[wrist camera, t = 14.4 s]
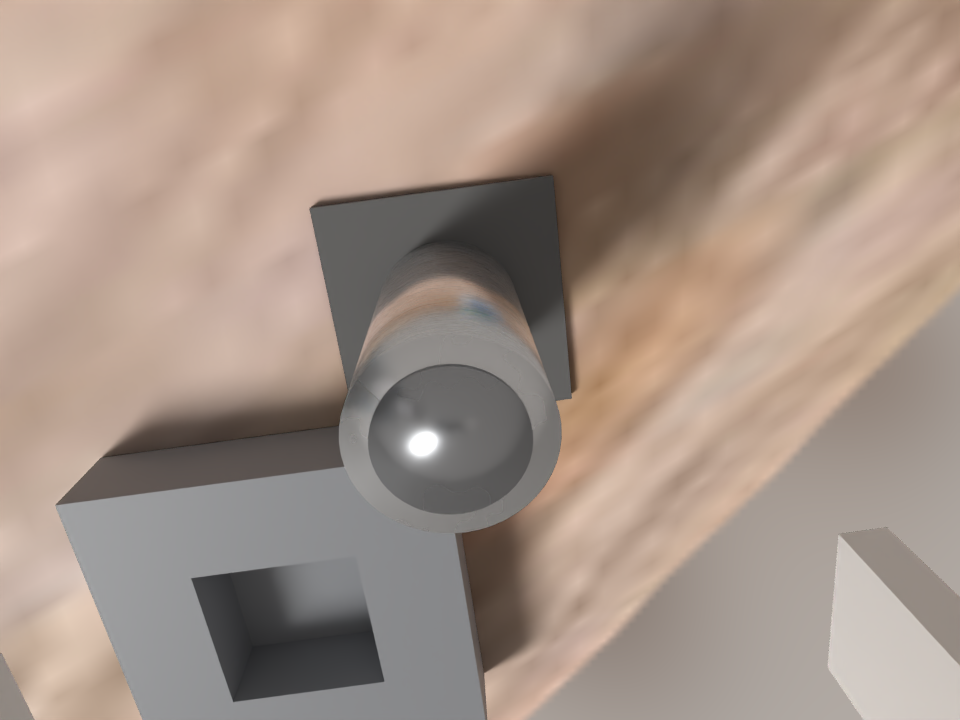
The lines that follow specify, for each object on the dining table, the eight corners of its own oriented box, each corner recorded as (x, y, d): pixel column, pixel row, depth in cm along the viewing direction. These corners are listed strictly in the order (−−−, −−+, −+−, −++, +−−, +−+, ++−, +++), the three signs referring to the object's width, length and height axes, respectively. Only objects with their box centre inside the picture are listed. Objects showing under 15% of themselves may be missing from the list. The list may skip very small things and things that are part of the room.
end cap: (367, 251, 29) (315, 354, 17) (509, 231, 29) (553, 322, 17) (391, 382, 31) (360, 551, 19) (524, 364, 31) (571, 523, 19)
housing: (101, 457, 32) (55, 505, 28) (442, 412, 32) (441, 453, 28) (194, 712, 38) (167, 780, 34) (484, 674, 38) (488, 737, 34)
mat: (311, 207, 28) (309, 208, 28) (551, 174, 28) (553, 176, 28) (356, 423, 32) (355, 427, 31) (570, 395, 32) (571, 398, 31)
